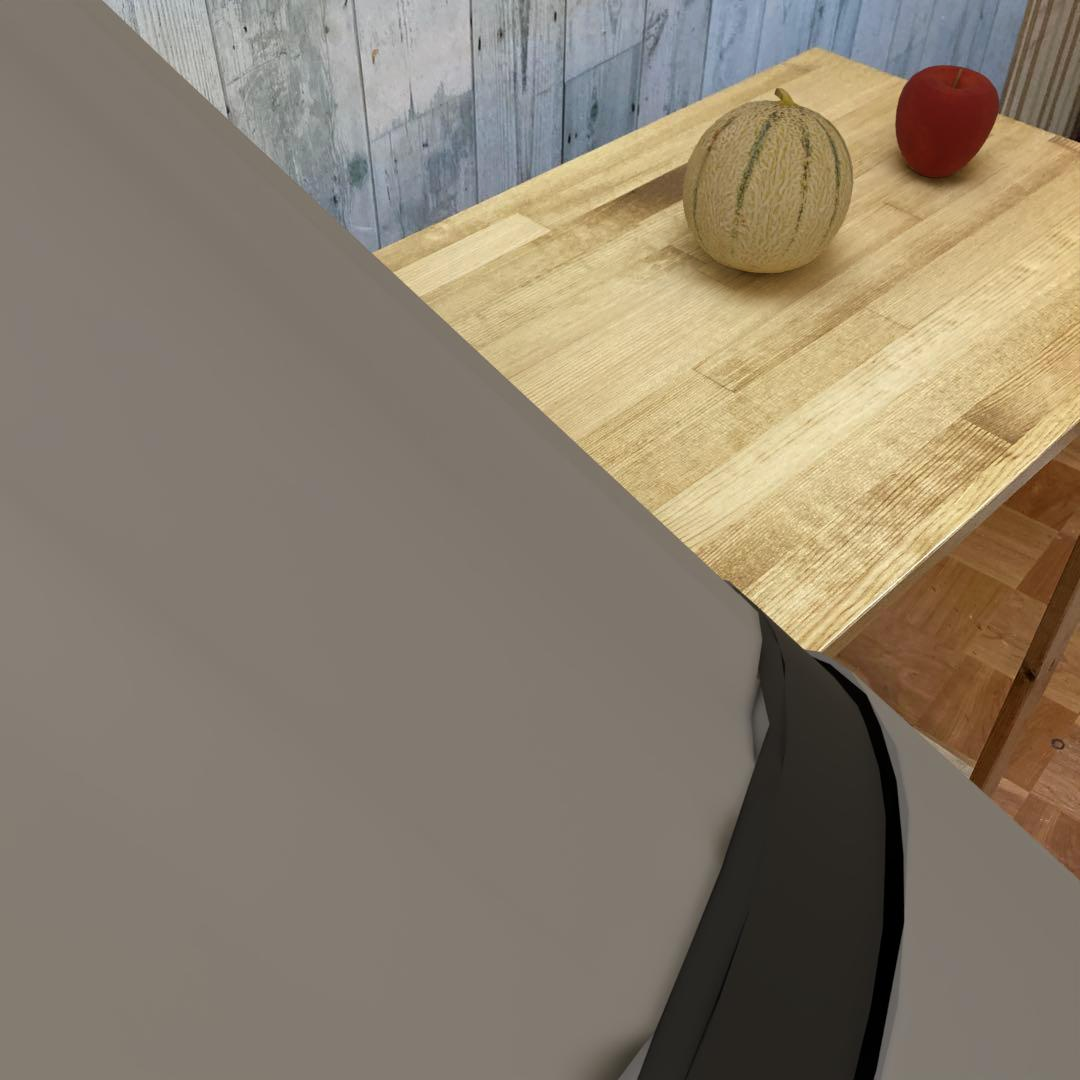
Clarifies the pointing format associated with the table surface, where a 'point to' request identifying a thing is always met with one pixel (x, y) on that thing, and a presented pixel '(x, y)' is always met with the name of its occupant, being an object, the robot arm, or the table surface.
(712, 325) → the table surface
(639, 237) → the table surface
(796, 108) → the cantaloupe
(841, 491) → the table surface
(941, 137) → the apple
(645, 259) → the table surface
